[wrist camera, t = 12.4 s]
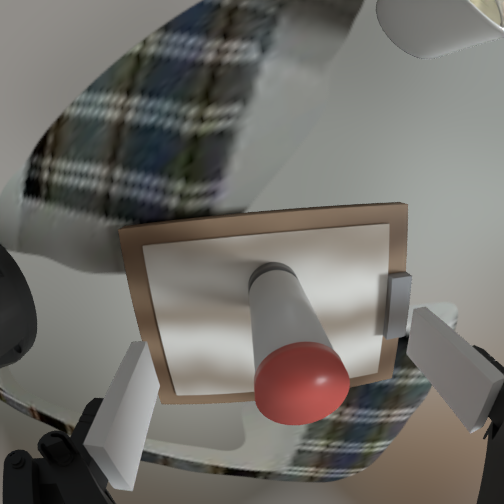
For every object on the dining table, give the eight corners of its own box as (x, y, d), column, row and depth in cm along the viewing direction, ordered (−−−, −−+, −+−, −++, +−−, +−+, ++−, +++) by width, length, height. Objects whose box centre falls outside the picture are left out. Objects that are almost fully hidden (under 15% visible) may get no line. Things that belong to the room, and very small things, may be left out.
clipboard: (124, 226, 25) (112, 232, 22) (399, 202, 25) (414, 206, 23) (164, 395, 30) (159, 411, 27) (386, 370, 30) (396, 384, 28)
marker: (244, 263, 24) (249, 361, 12) (297, 258, 24) (352, 346, 12) (249, 312, 25) (259, 430, 13) (300, 306, 26) (346, 416, 13)
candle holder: (458, 75, 22) (541, 52, 11) (376, 58, 22) (453, 7, 10) (439, -2, 20) (504, -44, 8) (359, -24, 19) (410, -90, 8)
